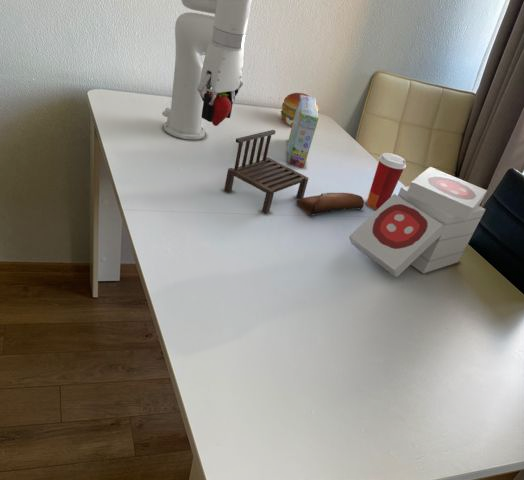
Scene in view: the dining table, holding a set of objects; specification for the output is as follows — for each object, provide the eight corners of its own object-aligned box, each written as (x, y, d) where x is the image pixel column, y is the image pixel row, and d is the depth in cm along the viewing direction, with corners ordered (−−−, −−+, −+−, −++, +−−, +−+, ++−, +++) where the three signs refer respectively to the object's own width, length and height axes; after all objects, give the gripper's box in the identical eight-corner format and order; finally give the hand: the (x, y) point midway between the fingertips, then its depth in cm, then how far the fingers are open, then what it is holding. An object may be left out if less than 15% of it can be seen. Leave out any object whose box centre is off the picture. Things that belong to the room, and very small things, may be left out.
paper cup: (390, 205, 155) (409, 158, 146) (386, 215, 149) (405, 167, 140) (365, 196, 156) (382, 149, 147) (360, 205, 150) (377, 157, 141)
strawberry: (213, 132, 132) (220, 90, 125) (196, 120, 135) (202, 78, 129) (232, 131, 135) (240, 90, 128) (215, 119, 139) (221, 78, 132)
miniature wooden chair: (224, 190, 138) (233, 138, 130) (263, 177, 150) (273, 128, 141) (266, 214, 134) (278, 161, 125) (302, 198, 145) (316, 149, 136)
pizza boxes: (338, 246, 129) (363, 175, 117) (414, 228, 146) (442, 165, 134) (396, 290, 119) (429, 217, 107) (470, 265, 136) (505, 200, 125)
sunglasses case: (343, 195, 151) (357, 181, 146) (352, 217, 150) (367, 204, 145) (293, 200, 142) (306, 186, 136) (303, 224, 141) (317, 210, 135)
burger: (291, 114, 200) (298, 86, 193) (321, 128, 195) (329, 99, 189) (271, 119, 190) (277, 89, 184) (302, 133, 186) (310, 103, 179)
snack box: (305, 168, 162) (319, 118, 152) (287, 164, 161) (300, 113, 152) (303, 144, 178) (316, 96, 168) (287, 140, 177) (298, 92, 168)
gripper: (239, 32, 129) (226, 108, 141) (190, 34, 117) (180, 116, 129) (263, 42, 127) (248, 119, 138) (215, 45, 115) (203, 129, 127)
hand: (216, 117), depth 134 cm, fingers closed on strawberry, 6 cm apart
